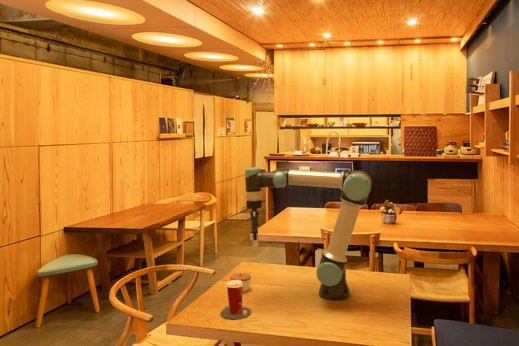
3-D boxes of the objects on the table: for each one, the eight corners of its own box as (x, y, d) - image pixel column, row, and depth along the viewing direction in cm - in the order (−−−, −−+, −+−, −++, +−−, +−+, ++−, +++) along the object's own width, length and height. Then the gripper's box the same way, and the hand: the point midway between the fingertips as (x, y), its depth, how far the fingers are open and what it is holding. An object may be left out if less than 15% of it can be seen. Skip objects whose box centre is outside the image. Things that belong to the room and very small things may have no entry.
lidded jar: (252, 287, 269) (251, 269, 268) (250, 294, 258) (249, 276, 257) (232, 287, 270) (231, 270, 269) (229, 294, 259) (228, 276, 258)
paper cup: (245, 313, 231) (244, 283, 229) (229, 315, 229) (228, 285, 227) (242, 307, 238) (240, 278, 237) (225, 309, 236) (224, 280, 235)
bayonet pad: (251, 307, 240) (251, 301, 240) (250, 319, 226) (250, 312, 226) (221, 308, 240) (221, 302, 240) (219, 320, 226) (218, 314, 226)
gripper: (247, 196, 256) (248, 237, 258) (245, 204, 231) (247, 249, 234) (261, 195, 256) (263, 236, 258) (261, 203, 231) (263, 249, 234)
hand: (255, 243), depth 246 cm, fingers open, 13 cm apart
